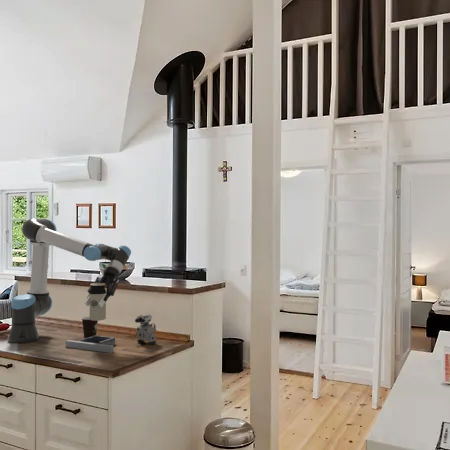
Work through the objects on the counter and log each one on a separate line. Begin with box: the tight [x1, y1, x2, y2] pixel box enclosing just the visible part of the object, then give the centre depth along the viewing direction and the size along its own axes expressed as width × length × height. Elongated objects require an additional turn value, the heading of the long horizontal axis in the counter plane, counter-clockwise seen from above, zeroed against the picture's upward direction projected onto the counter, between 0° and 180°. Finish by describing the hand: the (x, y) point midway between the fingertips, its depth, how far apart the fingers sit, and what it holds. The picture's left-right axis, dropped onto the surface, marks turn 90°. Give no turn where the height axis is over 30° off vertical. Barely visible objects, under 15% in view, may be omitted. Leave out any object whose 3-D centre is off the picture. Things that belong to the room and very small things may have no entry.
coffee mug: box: [81, 316, 99, 338], centre depth 276 cm, size 12×9×10 cm
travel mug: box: [89, 282, 107, 322], centre depth 253 cm, size 8×8×18 cm
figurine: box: [134, 314, 157, 346], centre depth 257 cm, size 9×12×15 cm
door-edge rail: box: [65, 339, 114, 354], centre depth 245 cm, size 28×2×3 cm, turn 65°
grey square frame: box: [80, 334, 116, 346], centre depth 252 cm, size 12×12×4 cm
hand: (93, 305), depth 250 cm, fingers closed on travel mug, 8 cm apart
